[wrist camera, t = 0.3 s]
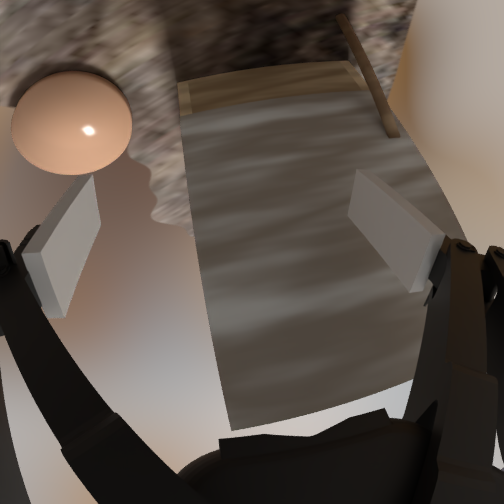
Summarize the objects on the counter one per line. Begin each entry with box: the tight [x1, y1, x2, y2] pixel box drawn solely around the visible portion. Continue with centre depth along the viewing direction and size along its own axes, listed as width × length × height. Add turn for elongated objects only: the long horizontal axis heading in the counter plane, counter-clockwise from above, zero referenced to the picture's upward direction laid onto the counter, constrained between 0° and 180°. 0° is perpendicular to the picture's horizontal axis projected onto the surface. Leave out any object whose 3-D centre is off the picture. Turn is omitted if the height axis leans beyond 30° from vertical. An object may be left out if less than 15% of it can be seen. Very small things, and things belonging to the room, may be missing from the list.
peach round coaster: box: [11, 71, 132, 175], centre depth 27 cm, size 13×13×1 cm
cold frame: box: [177, 14, 468, 431], centre depth 28 cm, size 28×17×28 cm, turn 2°
